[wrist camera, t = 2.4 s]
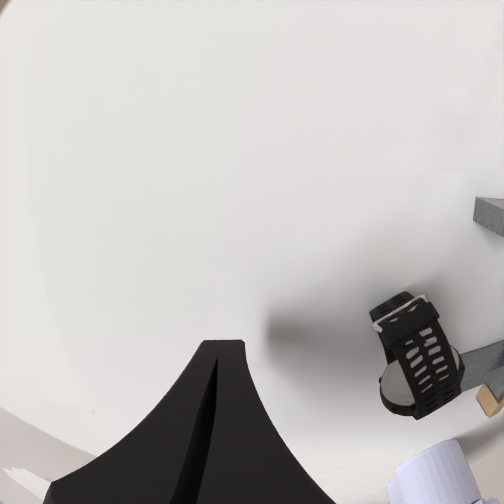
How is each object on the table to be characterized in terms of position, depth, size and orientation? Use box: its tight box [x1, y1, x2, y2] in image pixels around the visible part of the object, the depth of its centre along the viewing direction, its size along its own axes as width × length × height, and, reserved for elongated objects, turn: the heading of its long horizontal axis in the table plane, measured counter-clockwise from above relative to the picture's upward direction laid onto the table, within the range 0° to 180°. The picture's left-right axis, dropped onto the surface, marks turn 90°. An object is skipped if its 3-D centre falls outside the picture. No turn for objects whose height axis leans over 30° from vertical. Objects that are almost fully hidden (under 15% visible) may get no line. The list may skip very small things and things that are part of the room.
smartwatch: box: [370, 292, 465, 420], centre depth 9 cm, size 4×5×5 cm
